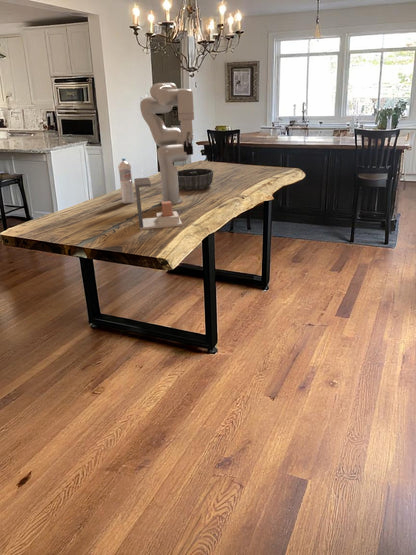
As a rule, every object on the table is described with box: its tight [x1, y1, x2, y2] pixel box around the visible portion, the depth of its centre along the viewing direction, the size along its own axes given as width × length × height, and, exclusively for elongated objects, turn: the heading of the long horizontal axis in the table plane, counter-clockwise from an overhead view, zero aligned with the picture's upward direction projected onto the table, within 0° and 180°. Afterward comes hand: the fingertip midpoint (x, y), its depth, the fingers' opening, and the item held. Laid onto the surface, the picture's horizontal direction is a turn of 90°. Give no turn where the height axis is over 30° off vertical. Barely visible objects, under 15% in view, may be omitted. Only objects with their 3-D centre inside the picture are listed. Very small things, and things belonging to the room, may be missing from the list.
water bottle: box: [118, 158, 135, 205], centre depth 263 cm, size 7×7×25 cm
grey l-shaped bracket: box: [133, 177, 152, 229], centre depth 221 cm, size 15×7×20 cm, turn 10°
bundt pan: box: [177, 168, 215, 191], centre depth 295 cm, size 26×26×10 cm
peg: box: [160, 201, 173, 217], centre depth 225 cm, size 4×4×9 cm
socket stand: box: [138, 210, 183, 231], centre depth 226 cm, size 15×20×4 cm
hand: (188, 153), depth 230 cm, fingers open, 9 cm apart
